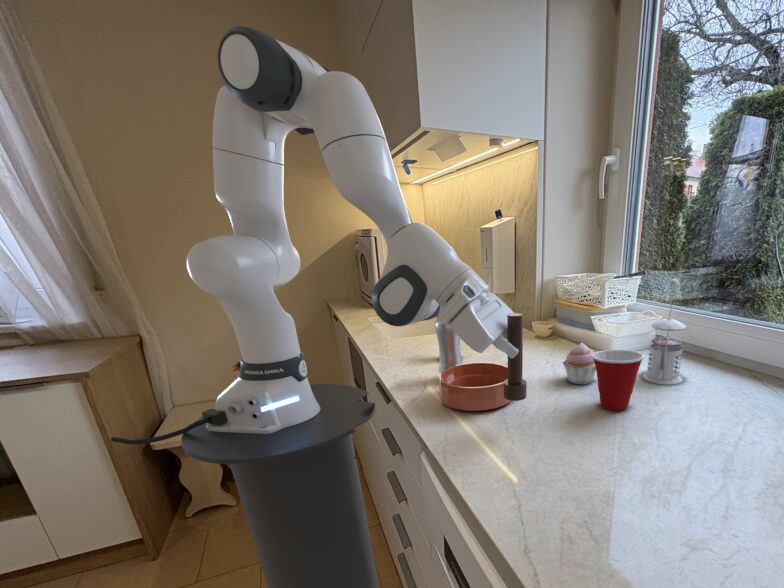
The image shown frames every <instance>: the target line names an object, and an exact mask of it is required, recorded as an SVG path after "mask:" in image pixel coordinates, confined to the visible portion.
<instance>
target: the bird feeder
mask: <svg viewBox="0 0 784 588" xmlns="http://www.w3.org/2000/svg"><path fill="white" fill-rule="evenodd" d="M678 284H679V280H678V279H676V278H672V279H670V281H669V285H672V290H671V291H672V293H671V301H670V308H669V316H668V318H663V319H659V320H656V321H654V322H653V323H651V325H650V326H651V328H652V329H654V330H656V331H657V330H658V331H664V332H667V333H666V337H663V334H660V337H655V338H652V340H651V344H650V345H649V349H648V351H649V352H648V358H647V359H648V360H647V361H648V362H647V370H646V372H645V373H643V374H642V378H643V379H644V380H645V381H647V382H649V383H653V384H658V385H667V386H668V385H669V386H670V385H677V384H680V383H682V382H683V377H682V376H681V375H680V373H681V372H680V371H681V364H682V361H681V360H682V356H681V355H683V347H682V344H683V342H682V341H681V340H680V339H677V338H671V337H670V335H669V332H679V331H684V330H685V329H686V328H687V326H686V324H684V323H683V322H681V321H679V320H678V319H677V320H676V319H674V318H673V319H672V318H671V313H672V307H673V306H672V305H673V300H674V299H673V298H674V290H675V285H678ZM678 365H679V366H678Z"/></svg>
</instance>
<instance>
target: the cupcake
mask: <svg viewBox="0 0 784 588" xmlns="http://www.w3.org/2000/svg"><path fill="white" fill-rule="evenodd" d="M593 353H595V351H594V350H593V349H591V348H590V347H588V346H587V345H586V344H584V343H583V342H580V343H579V344H578V345H577V346H575V347H572V349H570V351H569V353H567V355H566V359H564V361H562V365H563V367H564V369H565V372H566V377H567V380H568V382H569V383H571V384H575V385H589V384H591V383H592V382H593V381H594V378H595V375H596V373H597V372H596V367H595V363H594V360H593V358H592V354H593Z"/></svg>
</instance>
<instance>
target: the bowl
mask: <svg viewBox="0 0 784 588" xmlns="http://www.w3.org/2000/svg"><path fill="white" fill-rule="evenodd" d="M506 379H508V365H504V364H501V363H496V362H488V361H487V362H483V361H479V362H467V363H463V364H460V365H456V366H452V367H449V368H447V369H445V370H443V371H442V372H441V373H440V374H438V379H437V380H438V389H439V399H440V401H441V403H442V404H444V405H445V406H446V407H448V408H452V409H455V410H458V411H468V412H481V411H489V410H494V409H497V408H500V407H503V406H505V405H507V404H509V403H511V402H512V401H511V400H507V399H505V398H504V381H505V380H506Z"/></svg>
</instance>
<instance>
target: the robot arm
mask: <svg viewBox="0 0 784 588" xmlns="http://www.w3.org/2000/svg"><path fill="white" fill-rule="evenodd" d="M218 44H219V45H218V48H217V67H218V72H219V75H220V77H221V80H222V82H223V84H224V86H222V87H220V88H219V91H218V92H217V95H216V99H215V100H216V101H215V104H214V111H213V119H212V164H213V165H212V167H213V190H214V194H215V197H216V199H217V200H218V201H217V202H219V203H220V204H221V205H222V206H223V207H224V209H225V211H226V212H227V215H228V218H229V220H230V224H231V227H232V233H233V234H229V235H228V234H227V235H217V236H213V237H210V238H207V239H205V240H203V241H200V242H198V243H196V244H194V245H193V246H192V247H191V248H190V249H189V251H188V253H187V255H186V268H187V272H188V274H189V276H190V278H191V280H192V281H193V282H194V284H195V285H196V286H197V287H198V288H200V289H201V290H202V291H203V292H205V293H207V294H209V295H210V296H212V297H213V298H214V299H215V301H216V302H217V303H218V304H219V305H220V307H221V308H222V309H223V311H224V313H225V314H226V316H227V317H228V319H229V321H230V323H231V325H232V327H233V330H234V334H235V337H236V339H237V344H238V348H239V351H240V355H241V358H242V359H240V360H238V361H237V362H236V364H234V365H232V366H231V369H232V372H233V373H234V372H236V371H238V376H237V378H235V379H234V380H233V382H231V383H230V384H229V385H228V386H226V388H225V389H224V390H223V391H221V392H220V394H218V396H217V398H216V400H215V404H214V406H215V408H209V409H206V410H204V411H201V417H202V416H203V419H202V420H199V421H197V422H195V421H194V422H195V423H193V422H192V423H190V424H188V425H186V426H185V427H183V428H181V429H178V430H175V431H172V432H169V433H165V434H162V435H159V436H153V437H148V438H142V439H140V438H139V439H131V438H124V437H119V436H112V437H110V441H111V442H113V443H120V444H124V445H134V446H137V445H146V444H152V443H157V442H162V441H166V440H168V439H171V438H175V437H177V436H181V435H183V433H186V432H188V431H190V430H191V429H193V428H195V427H197V426H200V425H202V424H205V423H207V425H206V427H207V431H216V432H235V433H254V434H270V433H273V432H275V431H278V430H280V429H282V428H285V427H289V426H292V425H296V424H299V423H302V422H304V421H307V420H309V419H311V418H312V417H314V416H315V415H317V414H318V413H319V411H320V406H319V404H318V403H317V401H316V399H315V397H314V395H313V392H312V390H311V387H310V385H311V384H310V381H309V379H308V367H307V363H306V360H305V355H304V352H303V351H302V350H301V347H300V343H299V338H298V333H297V328H296V323H295V320H294V318H293V317H292V315H291V314H290V313H289V312H287V311H286V310H285V309H284V308H283V307H282V305H281V304H280V301H279V300H278V298H277V296H276V294H275V290H274V289H275V288H280V287H282V286H284V285H287V284H288V283H289V282H290V281H292V280H293V279H294V278H295V277H297V275H298V274H299V272H300V269H301V265H302V264H301V263H302V262H301V258H300V254H299V252H298V250H297V249H296V247H295V246H294V245H293V243H292V241H291V236H290V233H289V227H288V223H287V218H286V212H285V198H284V197H285V141H286V138H287V136H288V135H289V133H290V132H292V131H293V130H295V132H296V133H298V134H299V135H301V136H306V135H311V134H314V135H315V137H316V140H317V143H318V147H319V149H320V152H321V157H322V159H323V162H324V165H325V169H326V170H327V172H328V175H329V177H330V179H331V181H332V183H333V184H334V187H335V188H336V190H337V191H338V193H339V194H340V196H341V197H342V199H344V200H346V201H347V202H348V203H349V204H351V205H352V206H353V207H355V208H356V209H358V210H359V211H360V212H362V213H363V214H364V215H366V216H367V217H368V218H369V219H370V220H371V221H372V222H373V223H374V224H375V226H376V227H377V228H378V229H379V231H380V232H381V234H382V236H383V238H384V240H385V243H386V247H387V249H386V250H387V256H386V261H385V264H384V268H383V270H382V272H381V275H380V277H379V279H378V281H377V282H376V284H375V285H374V286H373V288H372V293H371V304H372V307H373V310H374V312H375V313H376V315H377V317H378V318H380V320H381V321H382V322H384V323H385V324H387V325H390V326H393V327H405V326H409V325H413V324H417V323H419V322H424V321H425V322H426V321H430V320H432V319H435V318H437V315H438V319H439V320H440V321H441V322H442V323H443V324H444V325H448V324H450V327H451V329H452V330H453V331H454V332H455V334H456V335H458V336H459V337H460V340H461V341H462V342H463V343H465V345H467V346H468V347H469V348H470V349H471V350H473V351H475V352H477V353H478V354H482V353H483V352H485V351H486V350H487V349H488V348H489V347H490V346H491V345H493V346H494V347H495V348H496V349H497V350H499V351H500V352H503V353H505V355H507V357H508V356H509V357H510V358H511V359H512V358H514V357H515V356H516V355H517V354H518V353H519V349H518V348H516V346H515V345H514V344H513V345H512V344H511V343H509V342H508V341H507V315H508V314H510V313H515V312H514V311H513V309H512V308H511V307H509V306H508V305H507V304H506V302H504V301H503V300H502V299H501V298H500V297H499V296H497V295H496V294H495V293H493V292H488V290H489V289H490V286H489V285H488V284H487V283H486V282H485V280H483V278H482V277H481V276H480V275H479V274H478V273H477V272H476V271H475V270H474V269H473V268H472V267H471V266H470V265H468V264H467V263H465V262H463V261H462V260H461V259H460V257H459V256H458V254H457V252H456V250H455V249H454V248H453V247H452V246H451V245H450V244H449V243H448V242H447V241H446V239H444V238H443V237H442V236H441V235H440V234H439V233H438V232H437V231H435V230H434V229H433V228H431V227H430V226H429V225H427V224H425V223H422V222H413V219H412V216H411V214H410V212H409V210H408V207H407V206H408V205H407V203H406V200H405V198H404V194H403V190H402V188H401V185H400V182H399V178H398V175H397V171H396V169H395V165H394V160H393V157H392V154H391V151H390V147H389V144H388V140H387V137H386V135H385V131H384V128H383V126H382V123H381V120H380V118H379V116H378V113H377V111H376V108H375V107H374V104H373V102H372V100H371V98H370V95H369V94H368V92H367V90H366V87H365V86H364V85H363V84H362V82H361V81H360V80H359V79H358V78H357V77H356V76H354V75H352V74H350V73H348V72H345V71H339V70H331V71H330V70H329V69H328V68H326V67H325V66H324V65H322V64H319V63H318V62H317V61H316V60H314V59H313V58H311V57H310V56H308V55H307V54H306V53H305V52H302V50H300V49H298V48H295V47H293V46H291V45H289V44H286V43H285V42H283V41H280V40H278V39H276V38H274V37H273V36H272V35H271V34H269V33H267V32H265V31H263V30H260V29H258V28H255V27H251V26H245V25H237V26H232V27H231V28H229V29H228V30H227V31H226V32H225V33H224V34H223V35H222V37H221V39H220V41H219V43H218ZM215 409H216V410H215Z"/></svg>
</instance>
